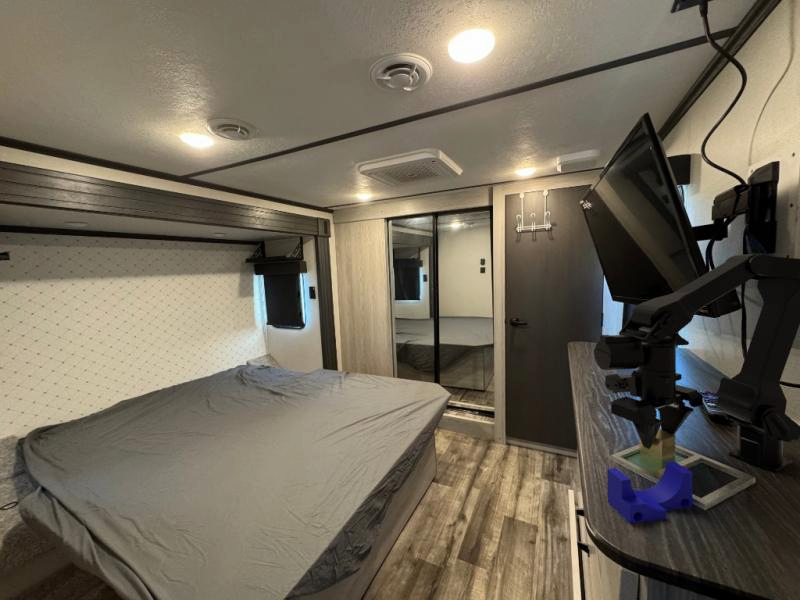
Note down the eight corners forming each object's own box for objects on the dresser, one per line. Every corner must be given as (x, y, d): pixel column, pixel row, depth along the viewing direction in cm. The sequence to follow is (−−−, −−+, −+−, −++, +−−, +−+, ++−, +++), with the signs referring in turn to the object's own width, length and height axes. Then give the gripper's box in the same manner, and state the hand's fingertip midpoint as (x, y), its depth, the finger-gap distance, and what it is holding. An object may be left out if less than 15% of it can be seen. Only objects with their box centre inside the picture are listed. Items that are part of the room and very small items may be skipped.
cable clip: (629, 524, 47) (629, 486, 47) (607, 502, 51) (607, 468, 51) (702, 514, 48) (702, 478, 47) (674, 494, 52) (674, 461, 52)
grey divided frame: (657, 441, 68) (657, 437, 68) (755, 482, 54) (755, 477, 54) (610, 459, 62) (610, 455, 62) (705, 510, 48) (705, 504, 48)
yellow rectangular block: (652, 451, 64) (652, 426, 63) (675, 462, 60) (675, 435, 60) (639, 456, 62) (639, 430, 62) (662, 467, 59) (661, 440, 58)
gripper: (642, 352, 71) (643, 417, 72) (584, 365, 64) (586, 436, 65) (704, 363, 60) (704, 439, 61) (642, 380, 54) (642, 465, 55)
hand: (656, 443), depth 61 cm, fingers open, 6 cm apart
